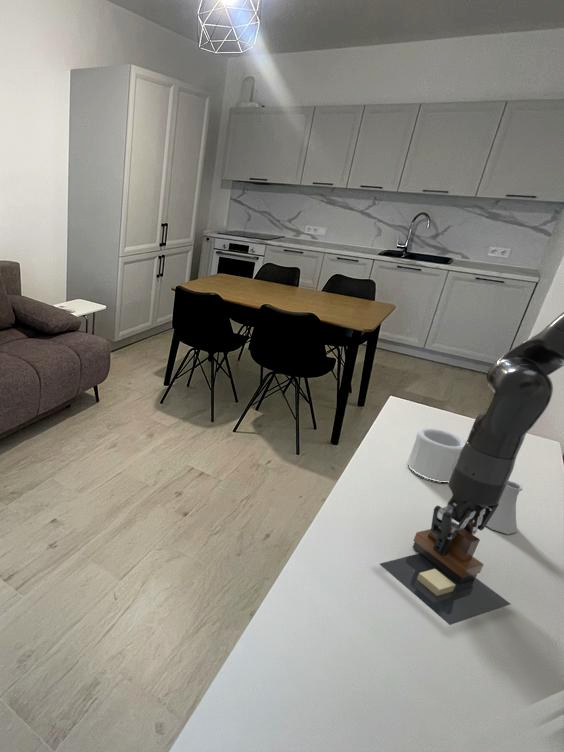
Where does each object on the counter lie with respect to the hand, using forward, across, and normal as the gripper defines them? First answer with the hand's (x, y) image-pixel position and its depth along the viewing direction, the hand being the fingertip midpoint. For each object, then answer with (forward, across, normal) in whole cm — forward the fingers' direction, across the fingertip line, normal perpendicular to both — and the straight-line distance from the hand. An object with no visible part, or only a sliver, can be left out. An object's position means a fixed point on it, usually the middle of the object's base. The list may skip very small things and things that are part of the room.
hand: (449, 549), depth 91 cm
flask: (+4, +25, +6) cm, 26 cm away
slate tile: (+4, -5, -4) cm, 7 cm away
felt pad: (+3, -7, -4) cm, 8 cm away
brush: (+3, 0, 0) cm, 3 cm away
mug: (+4, +31, +26) cm, 41 cm away
